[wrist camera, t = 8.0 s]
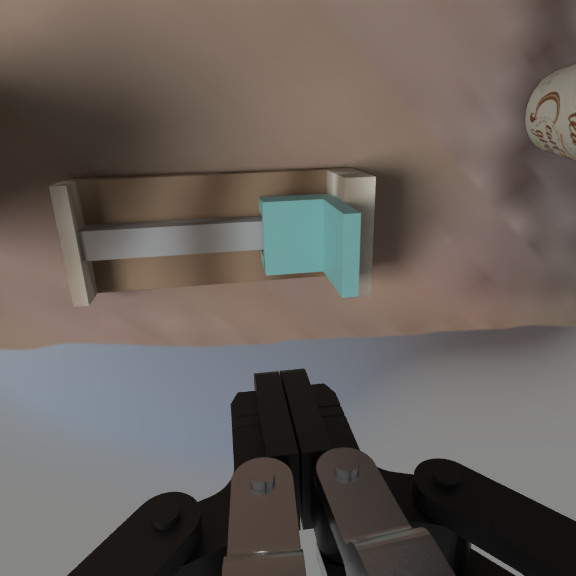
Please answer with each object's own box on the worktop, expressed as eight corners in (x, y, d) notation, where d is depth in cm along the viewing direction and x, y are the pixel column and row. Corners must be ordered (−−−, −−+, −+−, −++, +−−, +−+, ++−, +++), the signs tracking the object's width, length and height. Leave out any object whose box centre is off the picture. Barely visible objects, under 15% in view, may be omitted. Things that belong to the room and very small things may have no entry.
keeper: (327, 191, 33) (361, 213, 25) (327, 258, 35) (358, 296, 27) (258, 195, 32) (271, 218, 25) (261, 262, 34) (275, 303, 27)
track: (349, 167, 34) (375, 176, 28) (347, 269, 37) (371, 296, 31) (66, 179, 31) (34, 192, 26) (87, 288, 34) (62, 321, 29)
